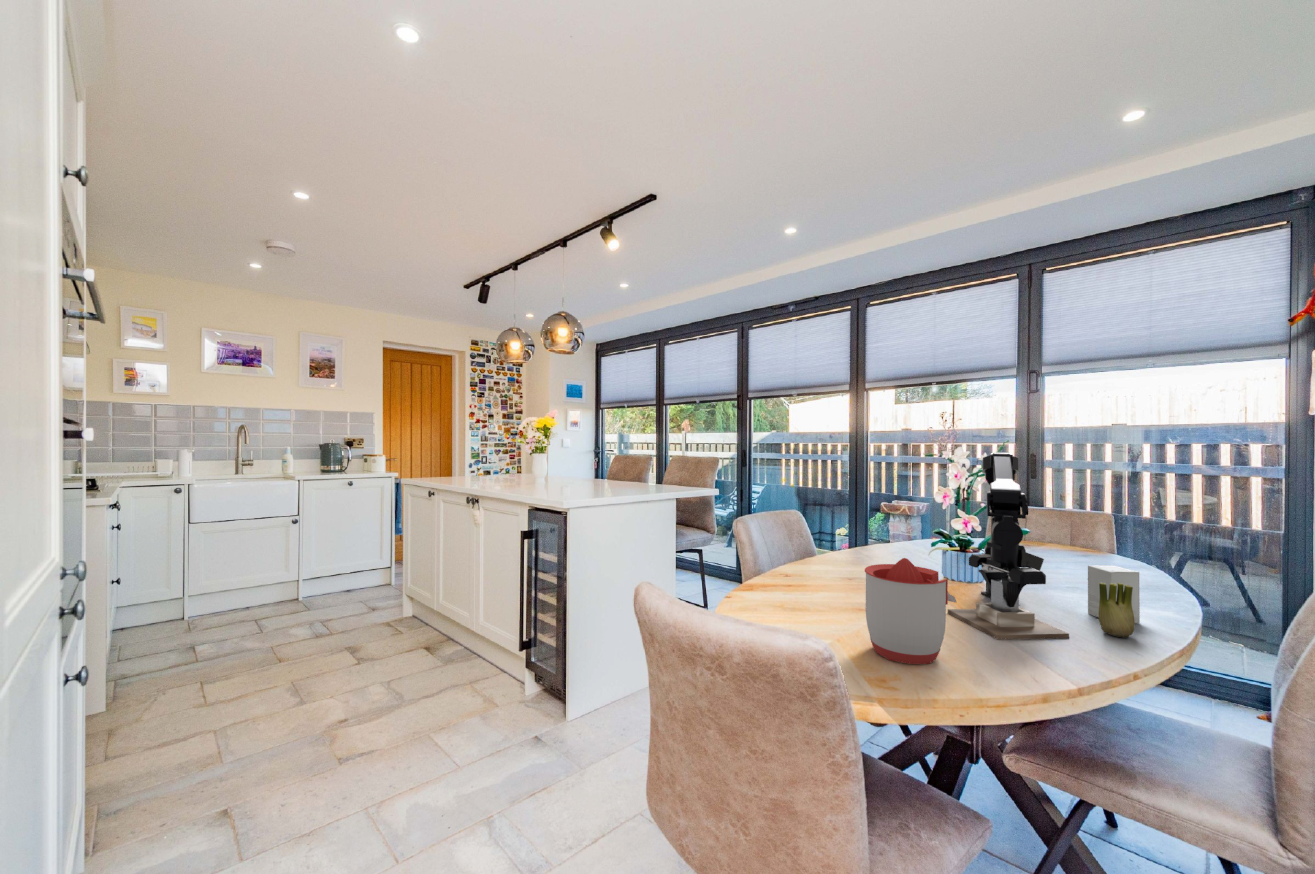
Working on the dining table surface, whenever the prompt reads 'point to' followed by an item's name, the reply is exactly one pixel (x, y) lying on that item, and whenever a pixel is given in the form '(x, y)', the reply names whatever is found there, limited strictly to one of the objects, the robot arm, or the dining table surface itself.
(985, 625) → the socket board
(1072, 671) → the dining table surface
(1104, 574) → the supplement box
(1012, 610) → the metal peg
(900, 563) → the citrus juicer
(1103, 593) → the fennel bulb
